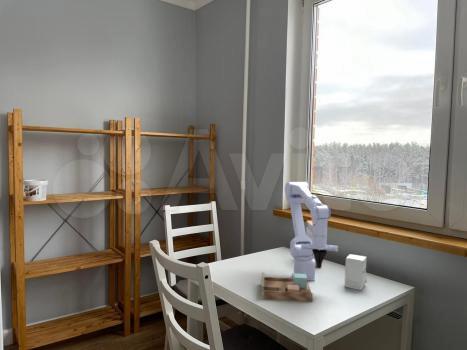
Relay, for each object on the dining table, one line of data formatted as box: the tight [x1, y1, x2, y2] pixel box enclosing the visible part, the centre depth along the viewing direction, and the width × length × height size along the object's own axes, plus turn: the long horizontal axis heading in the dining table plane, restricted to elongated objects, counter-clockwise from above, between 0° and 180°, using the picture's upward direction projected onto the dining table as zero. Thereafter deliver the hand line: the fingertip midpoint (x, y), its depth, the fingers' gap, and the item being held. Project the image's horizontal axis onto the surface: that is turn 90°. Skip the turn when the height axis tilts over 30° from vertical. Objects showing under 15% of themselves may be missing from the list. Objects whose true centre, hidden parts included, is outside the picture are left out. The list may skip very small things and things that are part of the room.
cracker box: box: [305, 220, 323, 268], centre depth 180 cm, size 14×6×21 cm, turn 179°
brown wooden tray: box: [260, 272, 314, 303], centre depth 143 cm, size 20×15×5 cm
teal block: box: [293, 272, 307, 288], centre depth 145 cm, size 5×5×4 cm
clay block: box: [287, 285, 300, 292], centre depth 139 cm, size 4×4×4 cm
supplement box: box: [343, 253, 367, 291], centre depth 150 cm, size 7×7×13 cm
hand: (318, 267), depth 144 cm, fingers closed
